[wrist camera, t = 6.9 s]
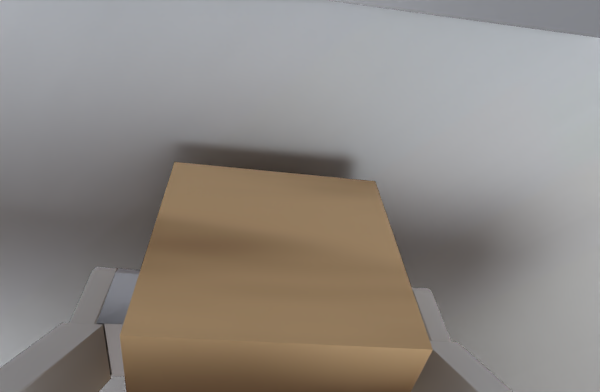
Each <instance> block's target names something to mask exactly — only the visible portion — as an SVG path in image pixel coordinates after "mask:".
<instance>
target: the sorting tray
mask: <svg viewBox="0 0 600 392" xmlns="http://www.w3.org/2000/svg"><path fill="white" fill-rule="evenodd" d="M328 1H336V2H343V3H350V4H357V5H365V6H372V7H379V8H387V9H394V10H401V11H408V12H416V13H423V14H430V15H438V16H445V17H452V18H459V19H467V20H474V21H481V22H489V23H496V24H503V25H510V26H518V27H525V28H532V29H540V30H547V31H554V32H561V33H569V34H576V35H583V36H591V37H598V38H600V0H328Z"/></svg>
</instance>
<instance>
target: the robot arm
mask: <svg viewBox="0 0 600 392" xmlns="http://www.w3.org/2000/svg"><path fill="white" fill-rule="evenodd" d="M139 273H140V270H134V269H123V268H107V267H95V268H94V270H93V271H92V272H91V274H90V276H89V279H88V281H87V283H86V285H85V288H84V290H83V292H82V294H81V297H80V299H79V301H78V304H77V306H76V308H75V310H74V313H73V315H72V317H71V319H70V322H69V323H61V324H60V325H58V326H57V327H55V328H54V329H53V330H51V331H50V332H49V333H47V334H46V335H44V336H43V337H42V338H40V339H39V340H38V341H36V342H35V343H34V344H32V345H31V346H29V347H28V348H27V349H25V350H24V351H23V352H21V353H20V354H19V355H17V356H16V357H14V358H13V359H12V360H10V361H9V362H8V363H6V364H5V365H3V366H2V367H1V368H0V392H99V391H100V390H101V389H102V388H103V386H104V385H105V384H106V383H107V382H108V381H109V380H110V379H111V376H125V375H124V367H123V359H122V351H121V343H120V333H121V330H122V326H123V323H124V320H125V317H126V314H127V311H128V307H129V304H130V301H131V298H132V295H133V292H134V288H135V285H136V282H137V279H138V276H139ZM412 290H413V293H414V296H415V299H416V302H417V305H418V308H419V311H420V314H421V317H422V320H423V322H424V325H425V328H426V331H427V334H428V337H429V340H430V343H431V346H432V349H433V350H432V352H431V354H430V356H429V358H428V360H427V362H426V364H425V366H424V368H423V370H422V371H421V373H420V375H419V377H418V379H417V381H416V383H415V385H414V387H413V389H412V391H411V392H513V391H512V390H510V389H509V388H508V387H507V386H506V385H505V384H504V383H503V382H501V381H500V380H499V379H498V378H497V377H496V376H495V375H494V374H493V373H491V372H490V371H489V370H488V369H487V368H486V367H485V366H484V365H483V364H481V363H480V362H479V361H478V360H477V359H476V358H475V357H474V356H473V355H471V354H470V353H469V352H468V351H467V350H466V349H465V348H464V347H463V346H461V345H460V344H459V343H458V342H453V341H451V338H450V336H449V333H448V331H447V328H446V326H445V323H444V321H443V318H442V316H441V313H440V311H439V308H438V306H437V303H436V301H435V298H434V296H433V293H432V291H431V290H430V289H429V288H415V287H412Z"/></svg>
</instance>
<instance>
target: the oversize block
mask: <svg viewBox="0 0 600 392" xmlns="http://www.w3.org/2000/svg"><path fill="white" fill-rule="evenodd" d="M120 343H121V351H122V359H123V367H124V375H125V383H126V391H127V392H411V391H412V389H413V387H414V385H415V383H416V381H417V379H418V377H419V375H420V373H421V371H422V370H423V368H424V366H425V364H426V362H427V360H428V358H429V356H430V354H431V352H432V350H433V349H432V346H431V343H430V340H429V337H428V334H427V331H426V328H425V325H424V322H423V320H422V317H421V314H420V311H419V308H418V305H417V302H416V299H415V296H414V293H413V290H412V287H411V284H410V282H409V279H408V276H407V273H406V270H405V267H404V264H403V261H402V258H401V255H400V252H399V249H398V247H397V244H396V241H395V238H394V235H393V232H392V229H391V226H390V223H389V220H388V217H387V214H386V211H385V209H384V206H383V203H382V200H381V197H380V194H379V191H378V188H377V185H376V182H375V181H367V180H357V179H346V178H336V177H326V176H315V175H305V174H295V173H284V172H274V171H263V170H253V169H243V168H232V167H222V166H212V165H201V164H191V163H181V162H174V165H173V168H172V171H171V175H170V178H169V181H168V184H167V187H166V190H165V194H164V197H163V200H162V203H161V206H160V209H159V213H158V216H157V219H156V222H155V225H154V228H153V232H152V235H151V238H150V241H149V244H148V247H147V251H146V254H145V257H144V260H143V263H142V266H141V270H140V273H139V276H138V279H137V282H136V285H135V288H134V292H133V295H132V298H131V301H130V304H129V307H128V311H127V314H126V317H125V320H124V323H123V326H122V330H121V333H120Z"/></svg>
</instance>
